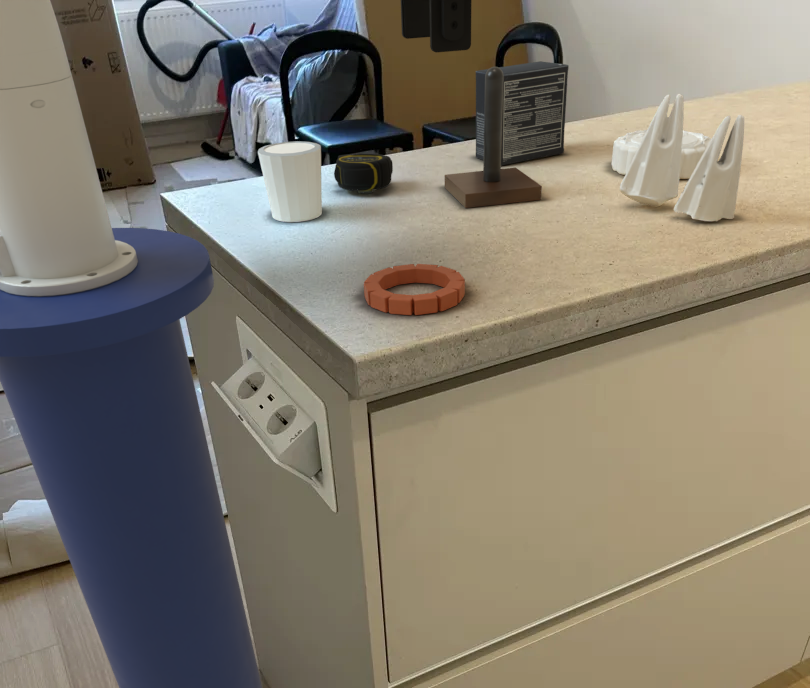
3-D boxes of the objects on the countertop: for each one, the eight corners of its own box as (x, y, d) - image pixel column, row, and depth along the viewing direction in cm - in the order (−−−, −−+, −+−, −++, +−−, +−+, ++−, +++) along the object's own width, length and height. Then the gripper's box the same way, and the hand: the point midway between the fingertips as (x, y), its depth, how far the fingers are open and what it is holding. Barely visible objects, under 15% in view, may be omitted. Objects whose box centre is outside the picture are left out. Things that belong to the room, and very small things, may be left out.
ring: (376, 320, 66) (375, 305, 65) (357, 284, 73) (356, 270, 72) (475, 307, 68) (476, 292, 67) (448, 273, 74) (448, 259, 73)
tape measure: (394, 181, 100) (392, 149, 98) (389, 197, 95) (387, 163, 92) (340, 183, 101) (337, 150, 98) (332, 198, 95) (329, 164, 93)
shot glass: (307, 202, 95) (300, 137, 90) (339, 214, 90) (333, 146, 86) (256, 214, 91) (246, 147, 87) (285, 227, 87) (277, 158, 83)
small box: (536, 145, 112) (541, 59, 106) (565, 154, 108) (572, 64, 101) (472, 157, 108) (473, 68, 102) (499, 166, 104) (502, 74, 97)
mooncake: (632, 152, 107) (636, 123, 104) (723, 162, 101) (729, 130, 99) (595, 174, 99) (598, 142, 97) (691, 185, 93) (697, 152, 91)
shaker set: (614, 207, 88) (627, 93, 81) (634, 198, 90) (648, 87, 84) (718, 227, 81) (741, 105, 75) (736, 217, 84) (761, 97, 77)
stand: (465, 208, 90) (466, 76, 82) (444, 187, 97) (443, 64, 89) (541, 199, 91) (549, 69, 83) (515, 180, 98) (520, 58, 90)
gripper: (355, -222, 63) (370, 36, 73) (407, -261, 49) (416, 61, 60) (447, -224, 64) (449, 29, 74) (523, -263, 50) (511, 53, 61)
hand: (434, 43), depth 67 cm, fingers open, 9 cm apart
